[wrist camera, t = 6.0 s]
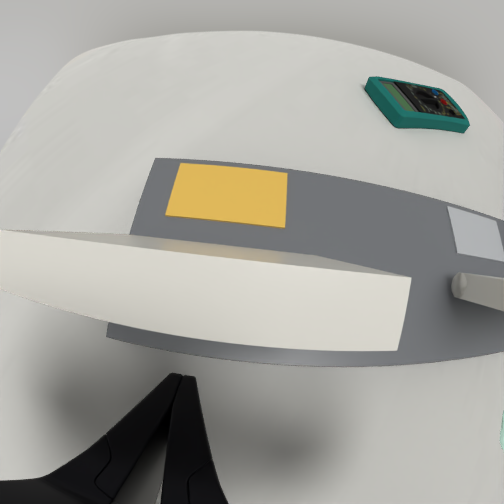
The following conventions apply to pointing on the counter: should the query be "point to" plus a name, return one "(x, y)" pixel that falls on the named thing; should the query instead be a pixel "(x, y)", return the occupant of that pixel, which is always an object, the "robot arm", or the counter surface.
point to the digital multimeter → (416, 105)
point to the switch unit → (331, 252)
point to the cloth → (502, 433)
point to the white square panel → (208, 289)
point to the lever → (479, 289)
